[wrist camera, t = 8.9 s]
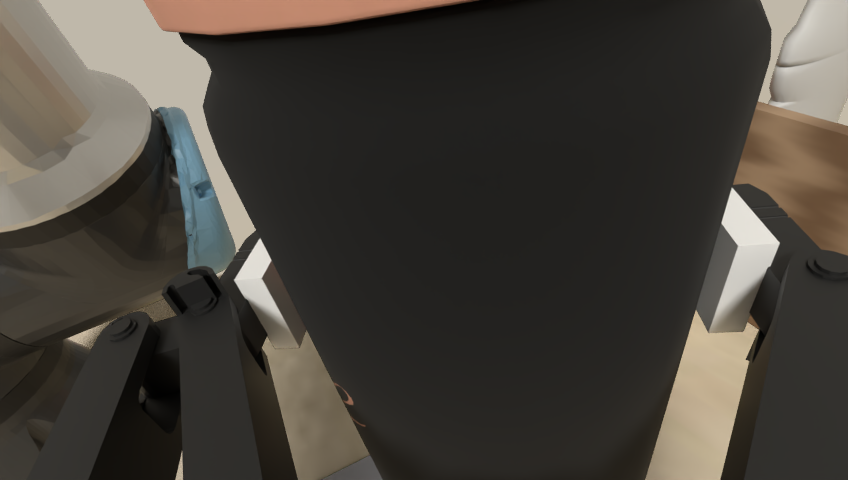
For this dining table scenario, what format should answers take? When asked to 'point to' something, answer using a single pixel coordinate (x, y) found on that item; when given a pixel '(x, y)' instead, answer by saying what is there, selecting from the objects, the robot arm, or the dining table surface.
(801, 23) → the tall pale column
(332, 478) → the charcoal mat
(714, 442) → the dining table surface
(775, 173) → the wooden hinged box
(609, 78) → the coffee jar
